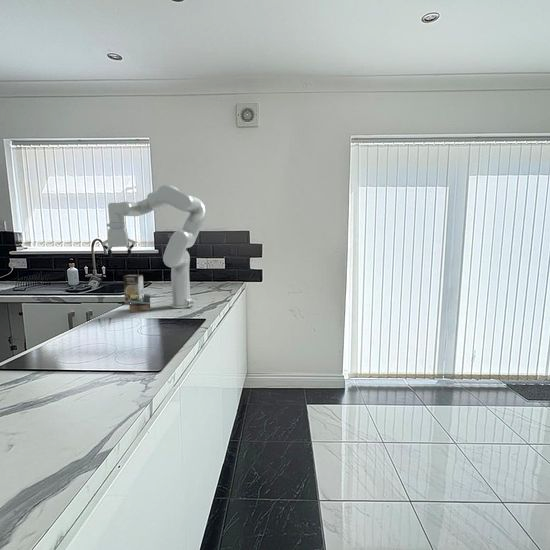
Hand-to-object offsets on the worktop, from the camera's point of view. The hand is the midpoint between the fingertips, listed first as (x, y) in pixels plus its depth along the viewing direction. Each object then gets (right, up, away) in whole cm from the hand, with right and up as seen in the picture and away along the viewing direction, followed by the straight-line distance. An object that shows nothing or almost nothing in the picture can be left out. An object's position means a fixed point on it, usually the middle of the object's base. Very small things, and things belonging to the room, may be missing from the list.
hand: (120, 257), depth 191 cm
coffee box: (+4, -26, +9) cm, 28 cm away
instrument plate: (+15, -24, -10) cm, 30 cm away
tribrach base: (+15, -28, -9) cm, 33 cm away
